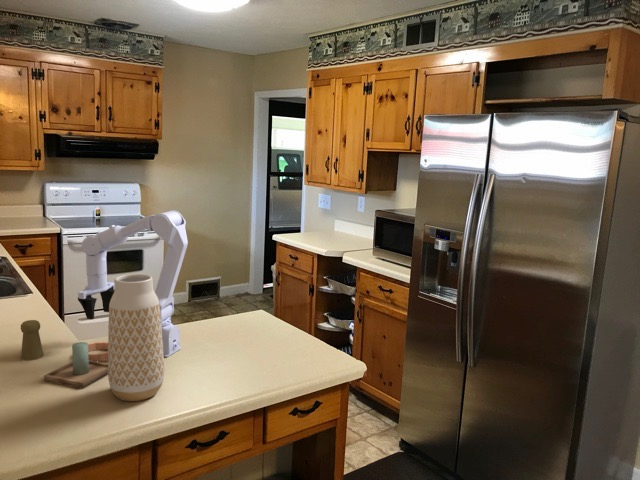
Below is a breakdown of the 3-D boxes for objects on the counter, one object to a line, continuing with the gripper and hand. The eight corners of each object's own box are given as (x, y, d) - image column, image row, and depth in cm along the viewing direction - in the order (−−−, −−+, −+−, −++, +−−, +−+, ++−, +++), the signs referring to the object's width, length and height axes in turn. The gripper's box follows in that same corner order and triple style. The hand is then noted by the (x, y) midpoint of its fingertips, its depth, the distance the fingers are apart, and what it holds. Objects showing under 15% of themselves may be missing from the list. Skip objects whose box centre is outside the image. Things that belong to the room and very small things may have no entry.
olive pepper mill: (34, 361, 159) (31, 325, 157) (16, 359, 160) (13, 323, 158) (48, 353, 165) (46, 319, 163) (30, 351, 166) (28, 317, 164)
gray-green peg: (92, 370, 151) (91, 343, 150) (81, 376, 148) (80, 348, 146) (80, 368, 152) (79, 341, 151) (69, 373, 149) (68, 346, 147)
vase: (110, 409, 131) (105, 286, 126) (107, 386, 144) (103, 273, 139) (168, 400, 137) (165, 282, 132) (161, 378, 149) (158, 270, 144)
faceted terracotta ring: (123, 351, 168) (123, 344, 168) (99, 364, 158) (99, 356, 158) (95, 346, 171) (95, 340, 171) (70, 358, 161) (70, 351, 161)
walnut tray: (116, 369, 154) (116, 364, 154) (83, 388, 142) (83, 383, 142) (79, 363, 158) (79, 358, 158) (44, 380, 146) (43, 375, 146)
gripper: (102, 267, 177) (104, 307, 179) (69, 277, 163) (71, 320, 165) (120, 269, 175) (122, 310, 177) (88, 279, 161) (90, 323, 163)
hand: (98, 315), depth 171 cm, fingers open, 7 cm apart
